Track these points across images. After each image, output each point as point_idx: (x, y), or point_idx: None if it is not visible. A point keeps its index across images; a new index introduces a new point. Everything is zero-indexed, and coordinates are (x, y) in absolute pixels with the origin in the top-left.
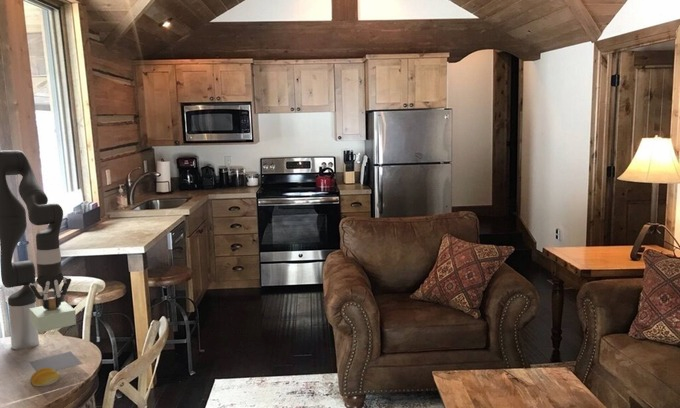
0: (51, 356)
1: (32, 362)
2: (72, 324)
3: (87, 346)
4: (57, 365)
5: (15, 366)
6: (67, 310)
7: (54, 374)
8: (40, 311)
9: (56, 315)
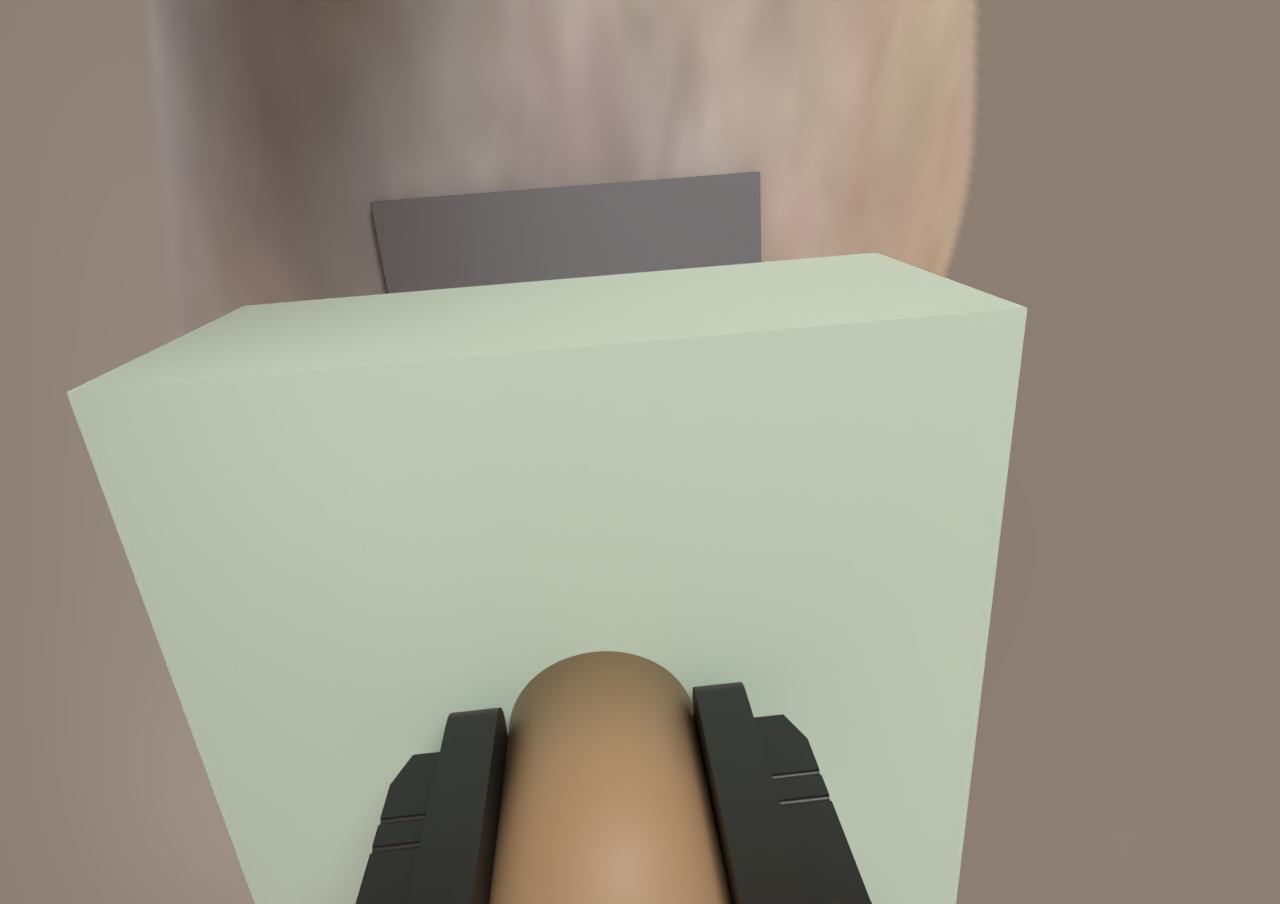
0: (579, 194)
1: (402, 241)
2: None
3: (937, 109)
4: None
5: (253, 212)
6: None
7: None
8: (353, 747)
9: None
